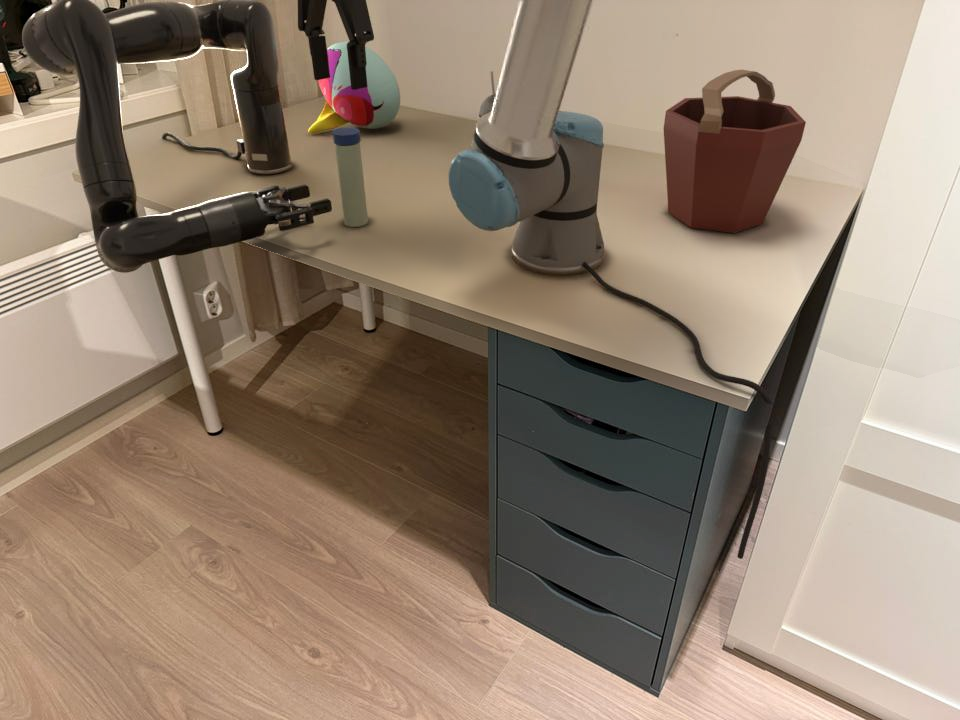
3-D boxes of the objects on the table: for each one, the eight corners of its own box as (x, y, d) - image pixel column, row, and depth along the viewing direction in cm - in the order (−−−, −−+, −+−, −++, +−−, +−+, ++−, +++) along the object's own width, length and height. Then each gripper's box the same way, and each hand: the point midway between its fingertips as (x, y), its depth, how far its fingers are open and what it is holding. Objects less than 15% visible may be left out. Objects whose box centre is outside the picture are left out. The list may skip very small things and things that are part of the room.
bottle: (346, 217, 132) (335, 130, 123) (369, 217, 132) (360, 130, 123) (342, 227, 128) (331, 137, 119) (366, 226, 128) (356, 137, 119)
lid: (335, 137, 124) (334, 127, 123) (362, 136, 124) (361, 127, 123) (331, 145, 120) (329, 135, 119) (358, 145, 120) (357, 135, 119)
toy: (277, 110, 181) (275, 51, 163) (352, 72, 191) (358, 13, 173) (336, 175, 178) (341, 122, 160) (410, 134, 188) (421, 79, 170)
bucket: (710, 250, 119) (740, 96, 105) (622, 208, 134) (638, 69, 120) (804, 218, 129) (843, 75, 115) (713, 183, 145) (736, 53, 131)
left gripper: (241, 211, 108) (335, 188, 117) (208, 186, 118) (298, 165, 126) (250, 256, 113) (341, 230, 121) (218, 227, 122) (304, 205, 130)
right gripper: (390, -76, 100) (401, 89, 112) (300, -80, 112) (319, 69, 125) (348, -74, 95) (364, 98, 108) (259, -78, 108) (283, 77, 120)
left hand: (319, 197), depth 123 cm, fingers open, 8 cm apart
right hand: (340, 83), depth 116 cm, fingers open, 9 cm apart
